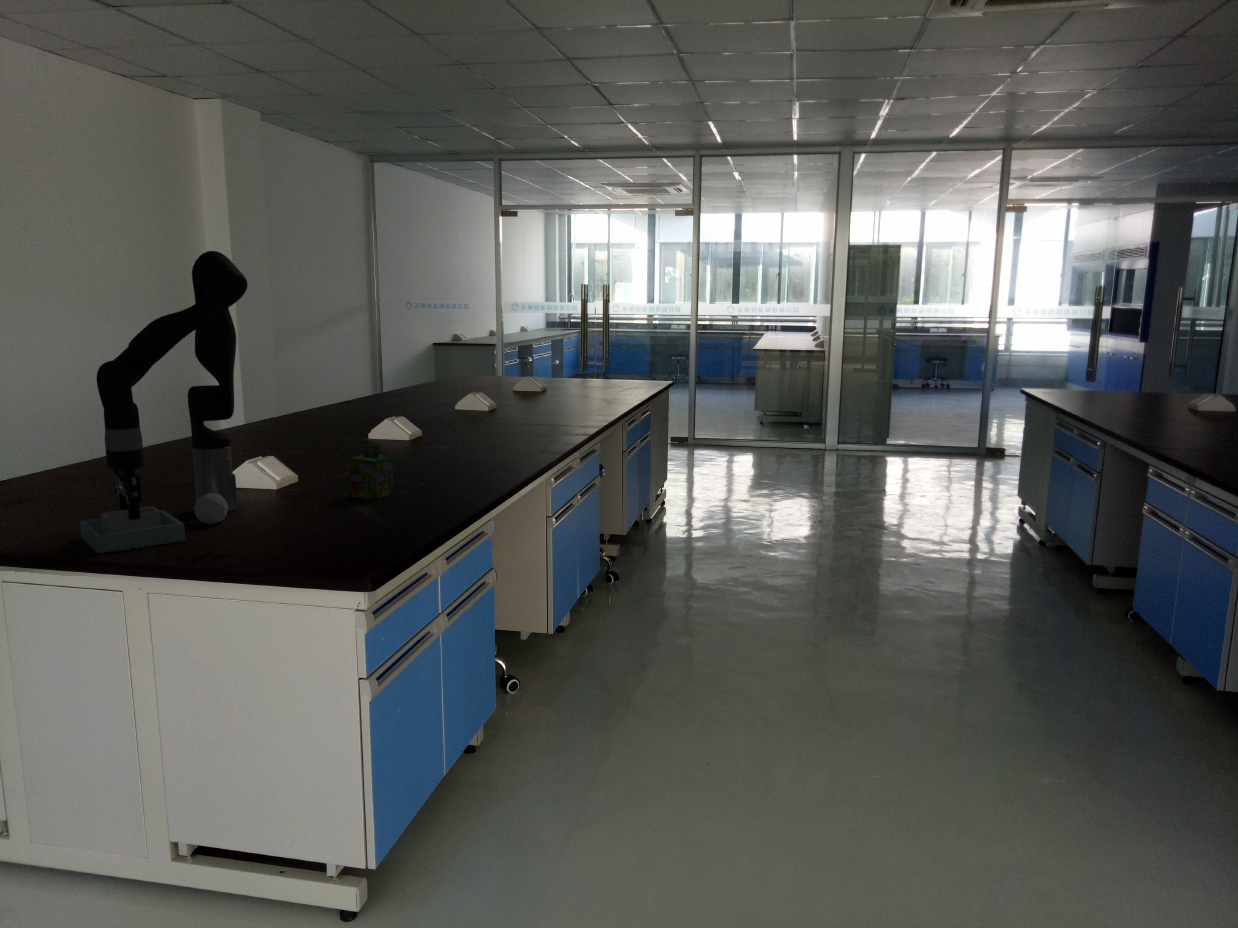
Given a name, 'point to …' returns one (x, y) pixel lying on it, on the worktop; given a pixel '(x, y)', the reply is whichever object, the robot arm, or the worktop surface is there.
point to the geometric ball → (211, 508)
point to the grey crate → (121, 521)
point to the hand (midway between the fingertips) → (130, 515)
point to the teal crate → (132, 535)
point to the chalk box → (370, 475)
